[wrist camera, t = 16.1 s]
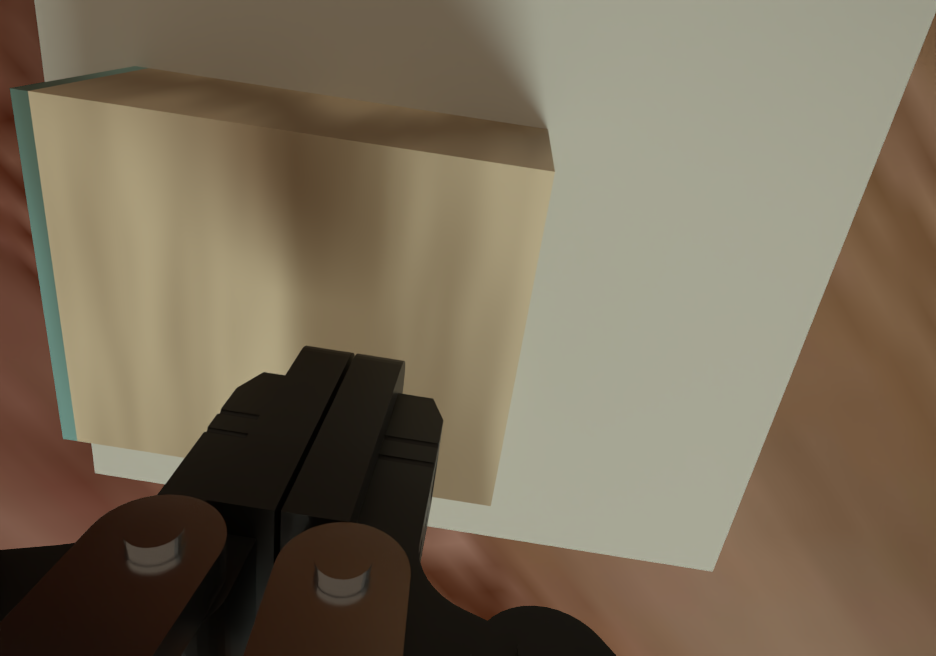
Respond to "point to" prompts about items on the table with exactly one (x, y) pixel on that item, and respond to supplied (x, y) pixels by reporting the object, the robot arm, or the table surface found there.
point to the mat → (599, 214)
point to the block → (275, 252)
